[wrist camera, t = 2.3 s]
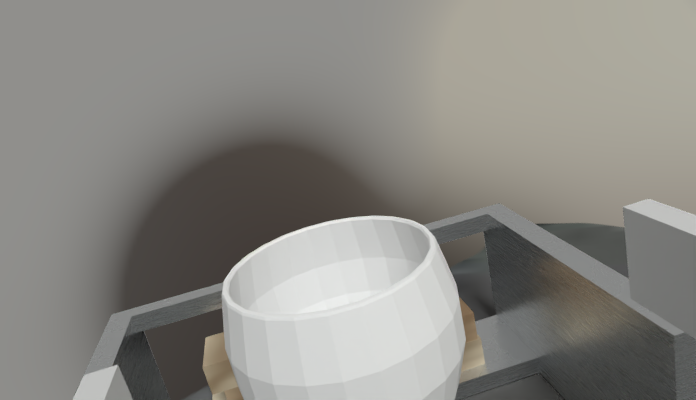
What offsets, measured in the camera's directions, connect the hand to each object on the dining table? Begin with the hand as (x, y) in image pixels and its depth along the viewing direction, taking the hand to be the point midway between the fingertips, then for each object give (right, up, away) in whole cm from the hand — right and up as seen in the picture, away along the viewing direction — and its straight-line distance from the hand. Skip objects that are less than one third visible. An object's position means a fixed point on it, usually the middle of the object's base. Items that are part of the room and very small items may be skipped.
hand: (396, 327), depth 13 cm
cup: (+1, -13, +15) cm, 20 cm away
